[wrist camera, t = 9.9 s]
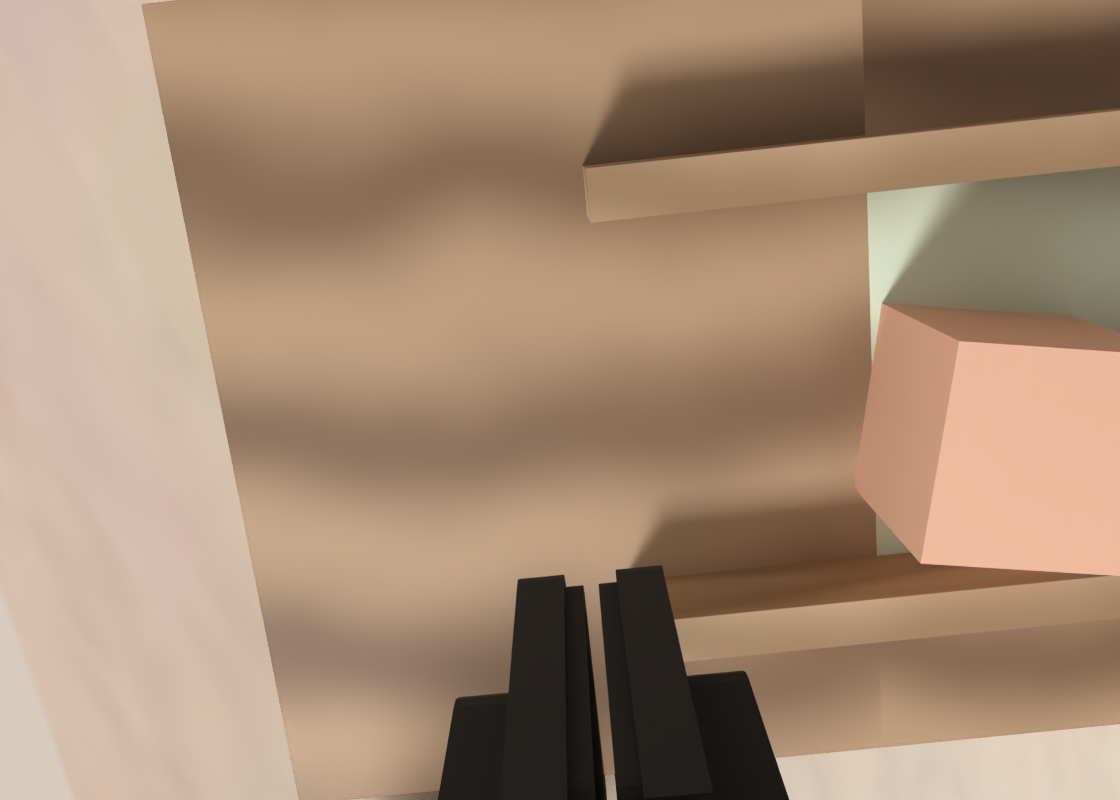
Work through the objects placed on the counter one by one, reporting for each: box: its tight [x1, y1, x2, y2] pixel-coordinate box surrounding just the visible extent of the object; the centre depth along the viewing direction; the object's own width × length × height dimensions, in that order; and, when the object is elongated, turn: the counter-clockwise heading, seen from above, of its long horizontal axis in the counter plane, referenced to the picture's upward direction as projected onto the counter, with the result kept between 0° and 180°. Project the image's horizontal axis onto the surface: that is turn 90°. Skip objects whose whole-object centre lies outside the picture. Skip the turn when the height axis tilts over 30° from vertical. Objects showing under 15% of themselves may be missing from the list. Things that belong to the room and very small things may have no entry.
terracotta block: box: [854, 303, 1120, 576], centre depth 24 cm, size 5×5×5 cm
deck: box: [142, 0, 1120, 800], centre depth 26 cm, size 22×32×5 cm
